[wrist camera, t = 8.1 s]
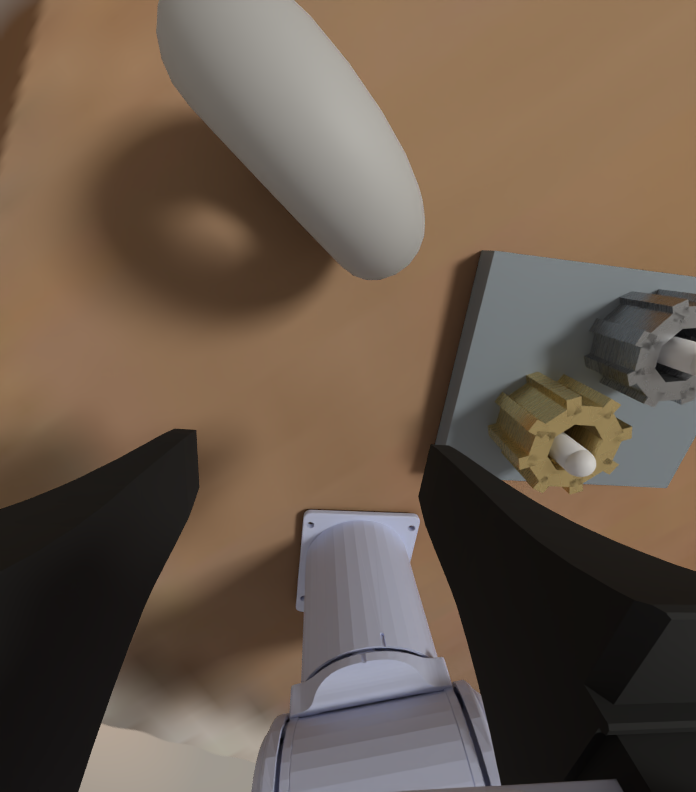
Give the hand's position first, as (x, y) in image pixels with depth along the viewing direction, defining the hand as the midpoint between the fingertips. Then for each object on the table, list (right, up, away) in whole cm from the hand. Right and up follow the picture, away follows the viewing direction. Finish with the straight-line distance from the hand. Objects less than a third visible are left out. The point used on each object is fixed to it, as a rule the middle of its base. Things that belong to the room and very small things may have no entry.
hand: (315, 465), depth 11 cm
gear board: (+15, +3, +11) cm, 19 cm away
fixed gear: (+17, +5, +8) cm, 19 cm away
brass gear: (+12, +1, +10) cm, 16 cm away
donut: (-1, +12, +6) cm, 14 cm away
